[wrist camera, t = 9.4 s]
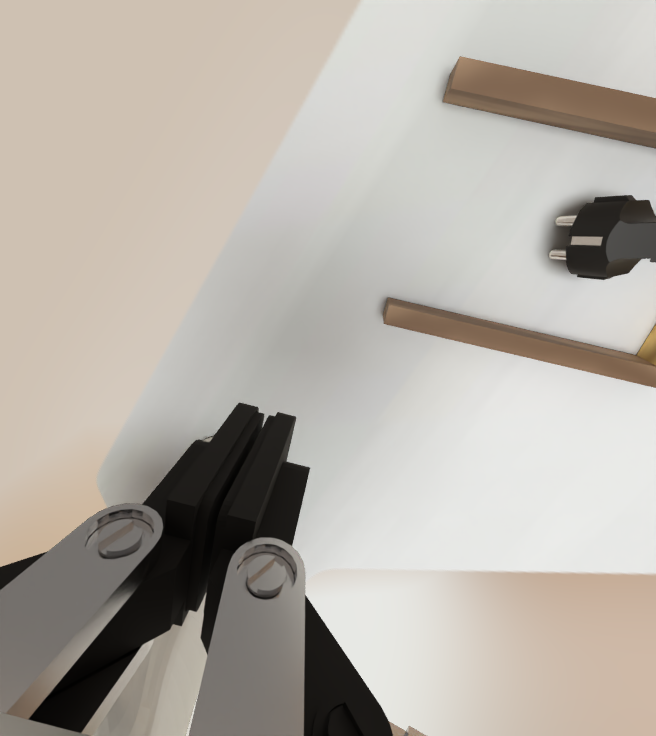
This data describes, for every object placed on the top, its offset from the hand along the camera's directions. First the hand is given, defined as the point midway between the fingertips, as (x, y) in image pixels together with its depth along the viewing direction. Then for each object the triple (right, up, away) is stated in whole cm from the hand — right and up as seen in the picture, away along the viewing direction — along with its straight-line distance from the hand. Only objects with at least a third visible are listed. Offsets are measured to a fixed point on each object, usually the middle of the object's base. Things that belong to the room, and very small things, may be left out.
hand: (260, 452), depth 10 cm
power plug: (+26, +13, +18) cm, 34 cm away
